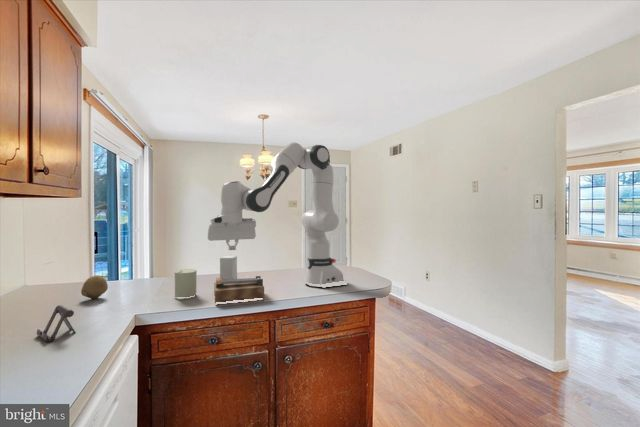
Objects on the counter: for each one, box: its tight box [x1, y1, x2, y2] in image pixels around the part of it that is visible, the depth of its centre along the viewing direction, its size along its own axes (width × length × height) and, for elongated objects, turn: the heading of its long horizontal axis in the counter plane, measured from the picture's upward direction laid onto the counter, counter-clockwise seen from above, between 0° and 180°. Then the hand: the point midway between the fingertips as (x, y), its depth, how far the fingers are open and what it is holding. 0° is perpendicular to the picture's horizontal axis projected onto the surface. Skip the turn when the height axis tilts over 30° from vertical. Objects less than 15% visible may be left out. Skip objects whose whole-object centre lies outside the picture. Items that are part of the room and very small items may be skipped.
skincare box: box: [219, 255, 238, 280], centre depth 154 cm, size 8×7×16 cm
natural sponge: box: [80, 275, 109, 300], centre depth 134 cm, size 9×9×10 cm
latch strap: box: [215, 277, 260, 284], centre depth 137 cm, size 19×4×2 cm, turn 110°
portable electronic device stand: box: [36, 304, 76, 344], centre depth 97 cm, size 9×8×8 cm
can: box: [174, 268, 198, 297], centre depth 139 cm, size 9×9×12 cm
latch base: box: [213, 275, 265, 304], centre depth 137 cm, size 20×14×8 cm
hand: (232, 250), depth 136 cm, fingers closed
